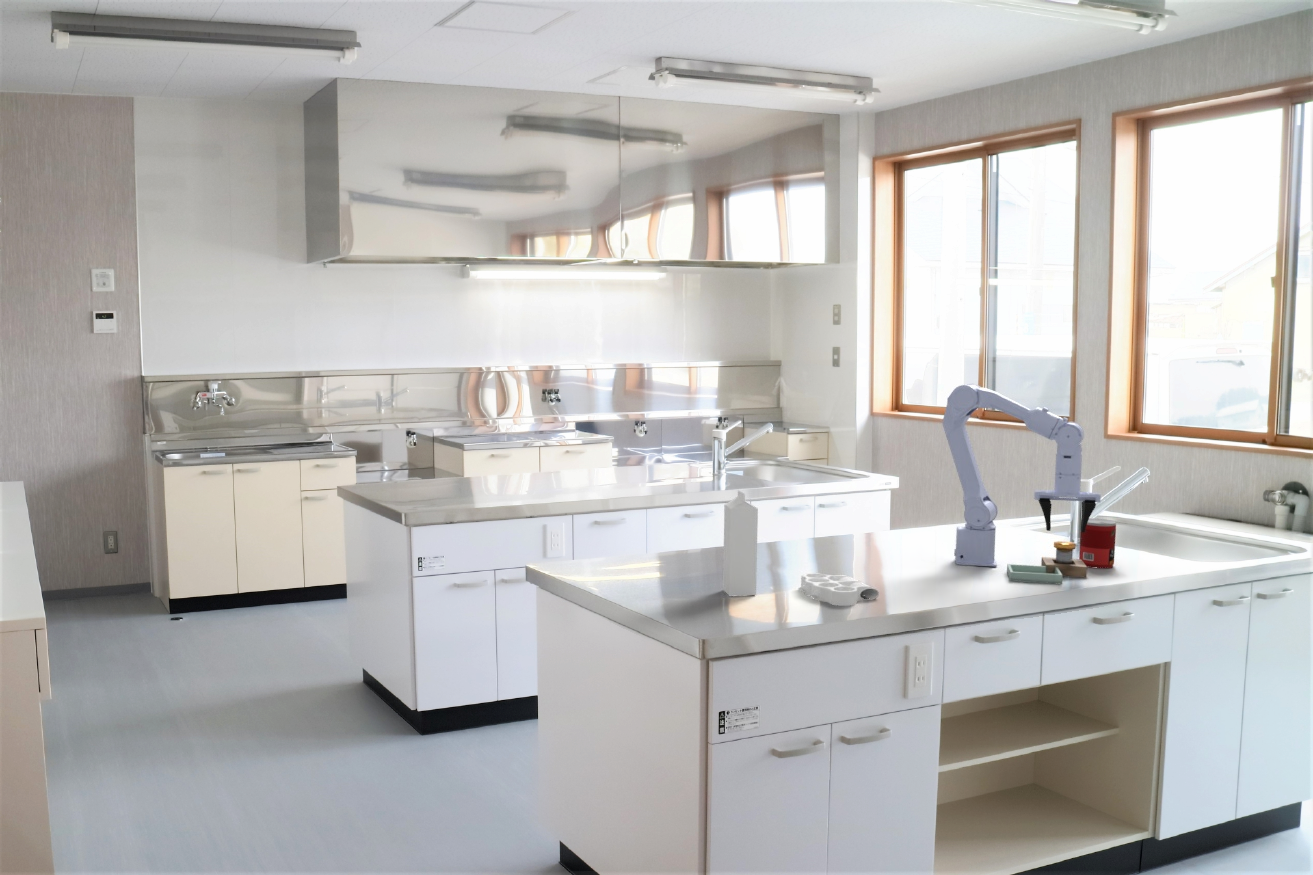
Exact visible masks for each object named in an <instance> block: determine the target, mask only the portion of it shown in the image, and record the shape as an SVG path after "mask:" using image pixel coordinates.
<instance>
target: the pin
mask: <svg viewBox="0 0 1313 875" xmlns="http://www.w3.org/2000/svg"><path fill="white" fill-rule="evenodd" d="M1076 544H1077V543H1075V542H1072V541H1071V542H1070V541H1062V540H1061V541H1059V540H1058V541H1054V542H1053V547H1054V548H1055V549H1056V550H1055V558H1056V563H1057V564H1072V559H1073V550H1075V549H1076Z"/></svg>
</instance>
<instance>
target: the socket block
mask: <svg viewBox="0 0 1313 875" xmlns="http://www.w3.org/2000/svg"><path fill="white" fill-rule="evenodd" d="M1040 566H1046V573H1047V572H1048V571H1047V568H1048V567H1050V570H1049V573H1052V572H1053V571H1054V570H1055V567H1058V569H1059V570H1060V572H1061V574H1062V575H1063V576H1062V577H1068V576H1069V577H1073V578H1084V579H1085V578H1087V574H1088V573H1087V572H1088V571H1087V570H1088V567H1087V566H1086V565H1085V564H1084V562H1083V561H1082V560H1081V559H1079V558H1072V564H1057V563H1056V557H1047V556H1045V557H1044V556H1042V557H1041V565H1040ZM1053 567H1054V569H1053V571H1052V570H1051V568H1053ZM1051 571H1052V572H1051ZM1054 573H1055V571H1054Z"/></svg>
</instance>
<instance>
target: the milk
mask: <svg viewBox="0 0 1313 875" xmlns="http://www.w3.org/2000/svg"><path fill="white" fill-rule="evenodd" d="M758 509H759V508H758V507H756V506H754V505H753V504H752V503H750V502H748V501H747V500H746V494H745V492H743V491H742V490H739V489H738V490H737V497H735V498H733V499H732V500H729V501H728V502H727V503H725V504H724V511H723V516H724V517H723V518H724V519H723V561H722V562H723V566H722V567H723V568H722V570H723V573H722V575H723V576H722V577H723V578H722V590H723V589H724V590H725V591H726V592H727V593H728V594H729V595H756V596H757V579H758V578H757V576H758V575H757V572H758V568H757V567H758V564H757V563H758V527H759V526H758V525H759V524H758V522H759V520H758V519H759V518H758V517H759V515H758V513H759V512H758V511H759V510H758ZM724 590H723V591H724Z"/></svg>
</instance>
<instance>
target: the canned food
mask: <svg viewBox="0 0 1313 875" xmlns="http://www.w3.org/2000/svg"><path fill="white" fill-rule="evenodd" d="M1079 531H1080V533H1079V534H1080V535H1079V536H1080V537H1079V555H1078V559H1081V560H1082V561H1083V562H1084V564H1085V565H1086V566H1087V568H1092V567H1097V568H1096V569H1110V568H1113V566H1114V565H1115V555H1116V554H1115V553H1116V552H1115V549H1116V538H1117V537H1116V533H1117V522H1116V521H1114V520H1111V519H1105V518H1090V517H1089V520H1088V522H1087V525H1086V529H1085V532H1081V528H1080V530H1079Z"/></svg>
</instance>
